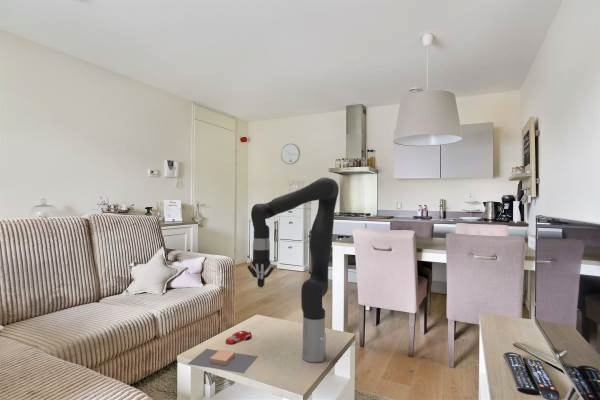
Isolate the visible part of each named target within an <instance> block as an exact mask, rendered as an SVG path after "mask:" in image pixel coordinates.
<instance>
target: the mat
mask: <svg viewBox="0 0 600 400" xmlns="http://www.w3.org/2000/svg"><path fill="white" fill-rule="evenodd" d="M219 350H220V349H218V350H217V349H211V348H210V349H209V348H205V349H204V350H203V351H201V353H199V354H198V355H197V356H196V357H194V358H193V359H191V361H189V362H188V363H187V365H190V366H191V365H192V366H196V367H203V368H209V369H217V370H221V371H226V372H228V371H229V372H232V373H233V372H234V373H241V374H244V373H245V372H246V371H247V370H248V369H249V367H251V366H252V364H253V363H254V362H255V361H256V359H257V358H258V357H259V356H258V355H250V354H243V353H239V352H235V357H234V358H233V359H232V360H231V361H230V362H229V363H228V364H227V365H226V366H225V365H219V364H213V363H210V358H211V357H212V356H213V355H214V354H216V353H217V352H218V351H219Z"/></svg>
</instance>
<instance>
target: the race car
mask: <svg viewBox="0 0 600 400" xmlns="http://www.w3.org/2000/svg"><path fill="white" fill-rule="evenodd" d="M252 337H253V335H252V332H251V331H248V330H240V331H236V332H235V333H233V334H231V336H229V337H227V338H226V339H225V344H226V345H231V346H232V345H235V344H238V343H240V342H243V341H249V340H251V339H252Z"/></svg>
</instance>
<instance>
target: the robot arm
mask: <svg viewBox="0 0 600 400" xmlns="http://www.w3.org/2000/svg"><path fill="white" fill-rule="evenodd" d="M339 190H340V189H339V184H338V183H337V182H336V180H335V179H332V178H329V177H319V178H318V179H317V180H315V181H313V182H311V183H310V184H308V185H306V186H304V187H302V188H299V189H297V190H295V191H293V192H289V193H286V194H283V195H280V196H278V197H275V198H273V199H272V200H270V201H269V202H265V203H256V204H254V205H253V206H252V208H251V210H250V211H251V212H250V217H251V222H252V226H253V242H252V261H251V264H249V265H247V266H246V267H247V270H248V271H249V272H250V273H251V275H252V277H253V278H256V279H257V282H256V283H257V286H258V288H263V287H264V286H265V283H266V282H265V281H266V280H265V279H267V278H269V276H270V275H271V274H272V273H273V272H274V270H275V269H276V266H274V265H272V264H271V263H272V262H271V259H270V257H271V256H270V255H271V253H270V252H271V242H270V226H269V225H267V223H266V220H267V219H271V218H273V217H275V216H276V215H279V214H282V213H286V212H289V211H291V210H294V209H296V208H297V207H299V206H301V205H304V204H306V203H311V202H314V201H318V208H317V212H316V215H315V217H314V220H313V223H312V226H311V229H310V236H309V237H310V238H309V251H310V252H309V253H310V256H311V263H312V264H311V273H310V277H309V279H307V280H305V281H304V282H302V284H301V290H300V295H301V296H300V298H301V303H300V304H301V310H302V359H303V360H304V361H305V362H309V363H320V362H321V363H323V362H324V361H325V358H326V356H327V355H326V352H327V346H326V345H327V344H326V343H327V333H326V310H325V308H324V307H323V297H324V296H325V295H326V294H327V293H328V289H329V264H330V259H331V258H330V257H331V249H332V243H333V233H334V222H335V219H334V218H335V210H336V205H337V200H338V196H339V192H340V191H339Z"/></svg>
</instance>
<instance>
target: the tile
mask: <svg viewBox="0 0 600 400" xmlns="http://www.w3.org/2000/svg"><path fill="white" fill-rule="evenodd" d="M218 350H219V351H218V352H217V353H216V354H214V355H213V356H212V357H211V358H210V363H213V364H219V365H225V366H226V365H227V364H228V363H229V362H230V361H231V360H232V359H233V358H234V357H235V353H236V351H232V350H230V351H229V350H223V349H218Z"/></svg>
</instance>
